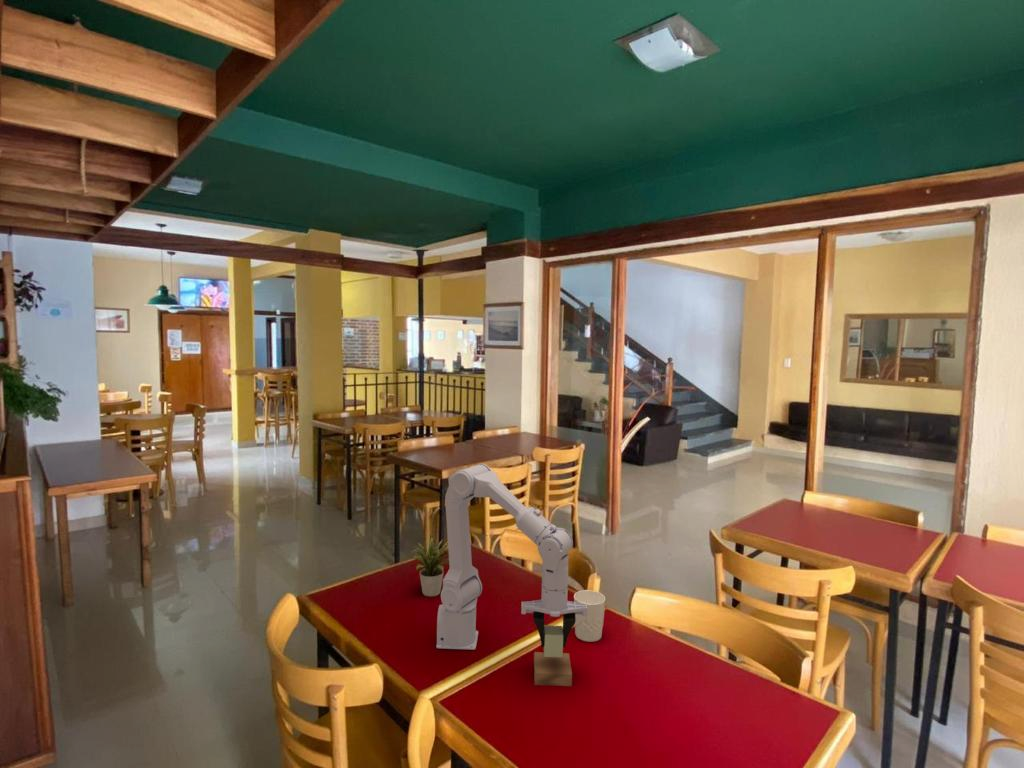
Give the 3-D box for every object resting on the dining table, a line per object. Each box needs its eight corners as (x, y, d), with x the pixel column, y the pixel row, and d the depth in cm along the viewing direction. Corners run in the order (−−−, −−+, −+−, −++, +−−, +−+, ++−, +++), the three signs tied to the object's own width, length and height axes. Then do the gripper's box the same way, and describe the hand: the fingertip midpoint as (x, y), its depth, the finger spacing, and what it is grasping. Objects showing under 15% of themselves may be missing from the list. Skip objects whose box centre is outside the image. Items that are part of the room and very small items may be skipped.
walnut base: (534, 686, 115) (535, 673, 115) (533, 664, 123) (534, 652, 123) (571, 687, 115) (572, 674, 115) (568, 665, 123) (568, 653, 123)
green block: (544, 656, 117) (544, 634, 116) (543, 646, 121) (544, 625, 120) (562, 657, 116) (563, 635, 116) (561, 647, 120) (561, 625, 120)
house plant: (433, 610, 146) (434, 552, 145) (395, 598, 153) (396, 542, 152) (463, 590, 158) (464, 537, 157) (427, 580, 165) (427, 528, 164)
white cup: (603, 645, 131) (604, 606, 130) (571, 641, 133) (572, 602, 132) (604, 629, 139) (605, 591, 138) (574, 625, 140) (575, 588, 140)
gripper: (521, 592, 114) (520, 653, 115) (589, 594, 113) (587, 656, 114) (522, 578, 121) (520, 636, 122) (586, 580, 120) (584, 638, 121)
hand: (553, 644), depth 118 cm, fingers closed on green block, 4 cm apart
